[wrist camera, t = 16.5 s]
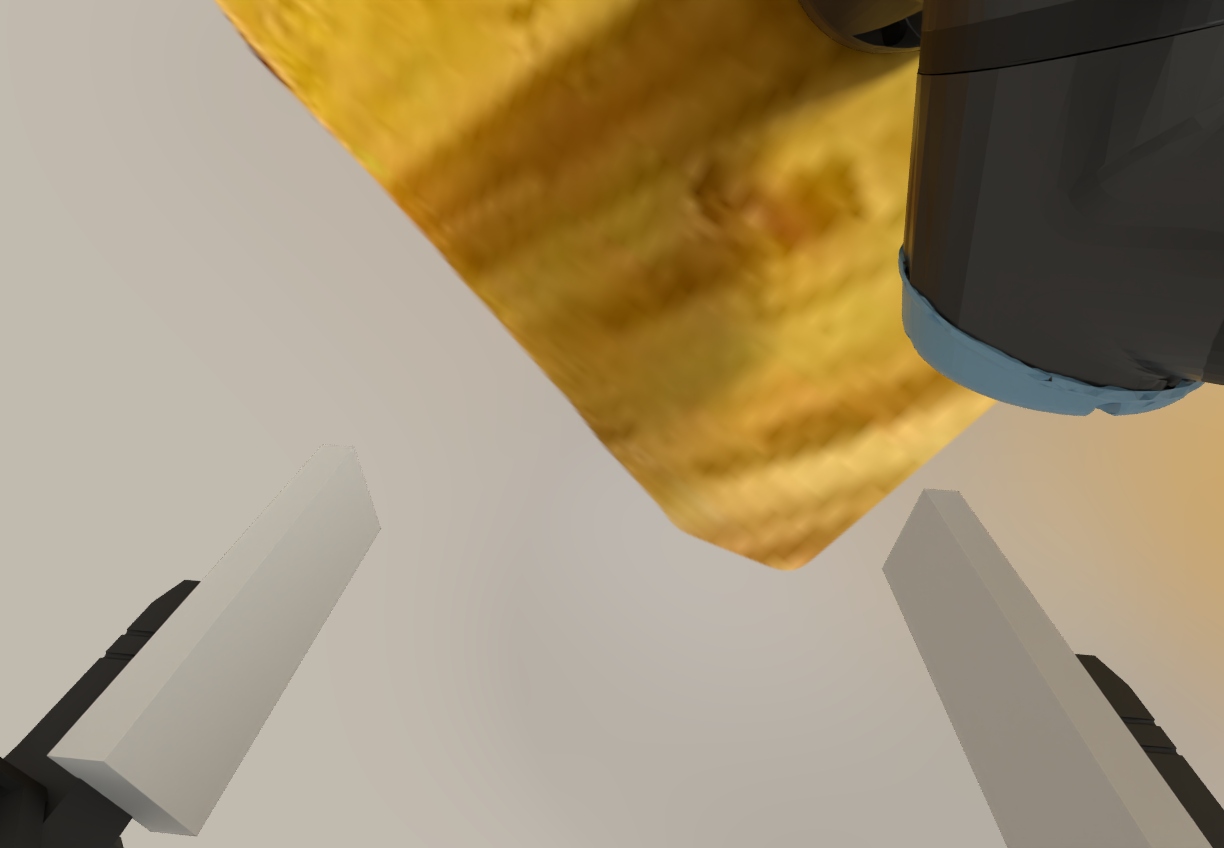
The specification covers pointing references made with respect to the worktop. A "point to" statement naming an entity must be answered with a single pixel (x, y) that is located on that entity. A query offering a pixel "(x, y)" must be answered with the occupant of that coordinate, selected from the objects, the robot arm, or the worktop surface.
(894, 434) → the worktop surface
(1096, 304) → the robot arm
